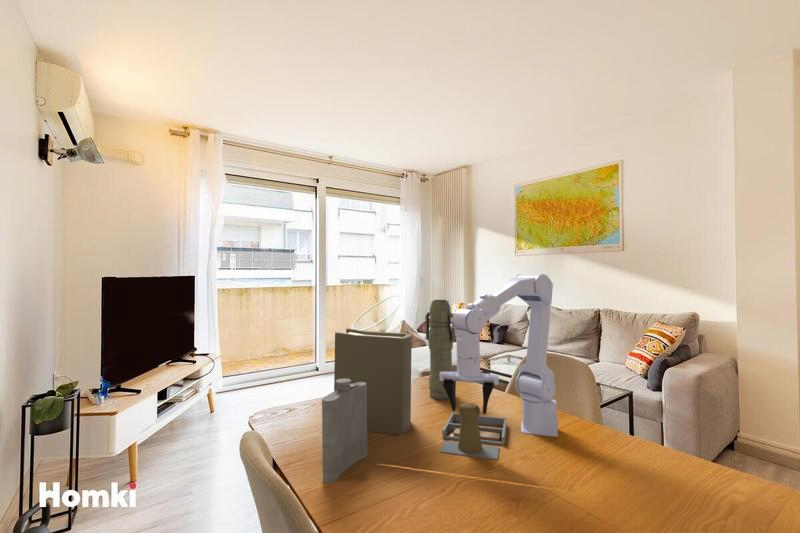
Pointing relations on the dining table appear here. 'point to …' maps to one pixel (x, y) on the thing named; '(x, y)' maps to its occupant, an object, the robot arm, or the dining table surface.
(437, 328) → the thermos
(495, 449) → the slate mat
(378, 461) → the dining table surface
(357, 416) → the hip flask
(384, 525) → the dining table surface
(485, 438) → the top offcut
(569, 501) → the dining table surface
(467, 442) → the cork
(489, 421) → the rack
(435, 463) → the dining table surface
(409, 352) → the book
